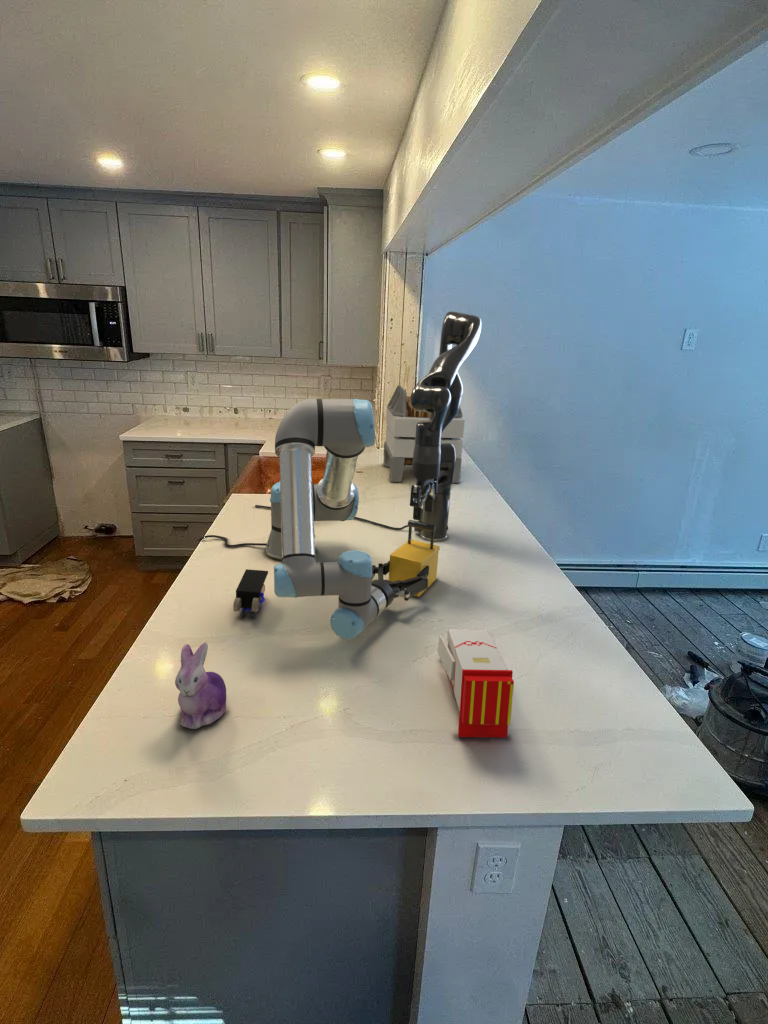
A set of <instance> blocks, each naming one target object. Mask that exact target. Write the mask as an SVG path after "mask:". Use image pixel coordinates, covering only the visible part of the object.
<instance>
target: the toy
mask: <svg viewBox="0 0 768 1024" xmlns="http://www.w3.org/2000/svg"><path fill="white" fill-rule="evenodd" d="M446 640H447V643H446V641H445V639H444V636H443V635H442V634H439V637H438V646H437V656H438V657H439V659H440V661H441V663H442V666H443V668H444V670H445V672H446V674H447V677H448V679H449V681H450V684H451V687H452V690H453V693H454V697H455V701H456V705H457V708H458V711H459V714H458V715H459V716H458V730H457V731H458V732H457V737H458V738H508V731H509V726H510V725H511V717H512V707H513V697H514V696H513V695H514V684H515V680H514V679H513V673H514V671H513V670H512V669H508V667H507V665H506V662H505V661H504V659H503V658H502V655H501V653H500V651H499V649H498V647H497V643H496V639H495V637H494V635H493V634H491V632H490V631H489V629H467V628H466V629H465V628H463V629H461V628H460V629H459V628H448V630H447V639H446Z"/></svg>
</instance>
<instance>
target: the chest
mask: <svg viewBox="0 0 768 1024" xmlns="http://www.w3.org/2000/svg"><path fill="white" fill-rule="evenodd" d="M439 552H440V550H439V551H438V552H437V553H436V554H435V555H433V556H432V557H431V558H430V559H429V560H428V561H427V562H426V563H425V564H424V565H423V566H421V567H420V566H416V565H412V564H408V563H404V562H400V561H396V560H392V559H390V558H389V561H390V565H389V573H388V580H389V581H392V582H394V581H398V580H400V581H404V580H407V579H411V578H414V577H417V574H418V573H419V572H420V571H422V570H423V569H424V568H425V567H426V566H429V575H428V576H427V579H428V588H429V587H431V586H432V585H433V583H434V582H435V581H436V580H437V577H438V575H437V574H438V562H439ZM426 591H427V589H425V590H423V591H421V592H419V593H418V594H416V595H414V596H413V597H417V598H420V597H421V596H422V595H423V593H425V592H426Z"/></svg>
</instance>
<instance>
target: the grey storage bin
mask: <svg viewBox="0 0 768 1024" xmlns="http://www.w3.org/2000/svg"><path fill="white" fill-rule="evenodd" d="M407 394H408V393H407V390H406V389H404V388H403V387H402V385H399V384H398V385H397V386H396V388H395V390H394V392H393V394H392V395H391V398H390V400H389V402H388V404H387V405H386V413H385V414H386V415H385V423H386V428H385V438H384V442H383V466H384V467H388V468H389V475H388V476H389V477H388V478H389V480H390V482H391V483H402V482H403V475H404V469H405V466H406V467H407V466H411V467H413V451H414V446H415V432H416V425H417V423H418V422H420V421H426V420H429V417H430V413H429V412H420V411H416V410H414V409H413V407H412V406H411V403H410V397H411V395H407ZM464 429H465V419H464V418H463V411H462V408H461V407H460V409H459V411H458V413H457V414H456V416H455V417H454V418H453V420H452V421H451V422H450V423H449V424H448V426H447V427H446V428H445V429H444V431H443V432H442V434H441V443H450V444H452V445H453V446H454V448H455V452H456V461H455V468H454V475H453V482H452V484H455V483H456V484H459V483H461V472H462V461H463V460H462V453H463V442H464V441H463V440H462V439H463V438H464V431H465V430H464Z"/></svg>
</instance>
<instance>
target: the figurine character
mask: <svg viewBox="0 0 768 1024" xmlns="http://www.w3.org/2000/svg"><path fill="white" fill-rule="evenodd" d="M268 574H269V570H261V569H247V568H245V570H244V572H243V575H242V577H241V579H240V581H239V583H238V585H237V587H236V589H235V598H234V600H233V607H232V609H233V612H234V613H235V612H236V613H239V612H240V611H241V612H240V616H241V617H244V615H245V612H246V611H248V612H249V611H251V612H252V613H251V617H255V615H256V613H258V612H259V610H260V609H261V605H262V604H263V603H264V602H265V601H266V598H265V591H266V586H265V582H266V579H267V576H268Z"/></svg>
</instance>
